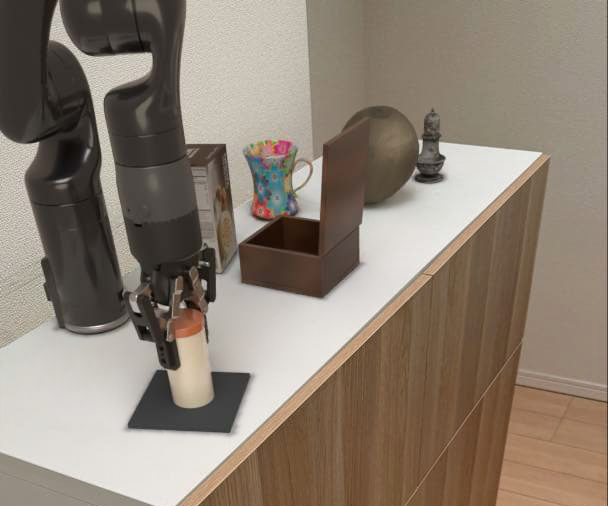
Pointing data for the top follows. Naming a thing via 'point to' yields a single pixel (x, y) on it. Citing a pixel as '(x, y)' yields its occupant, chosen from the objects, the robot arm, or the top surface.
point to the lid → (343, 184)
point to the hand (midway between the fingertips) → (185, 355)
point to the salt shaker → (430, 151)
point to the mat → (211, 417)
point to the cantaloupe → (387, 151)
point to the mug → (273, 177)
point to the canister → (191, 361)
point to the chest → (296, 257)
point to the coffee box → (214, 200)
